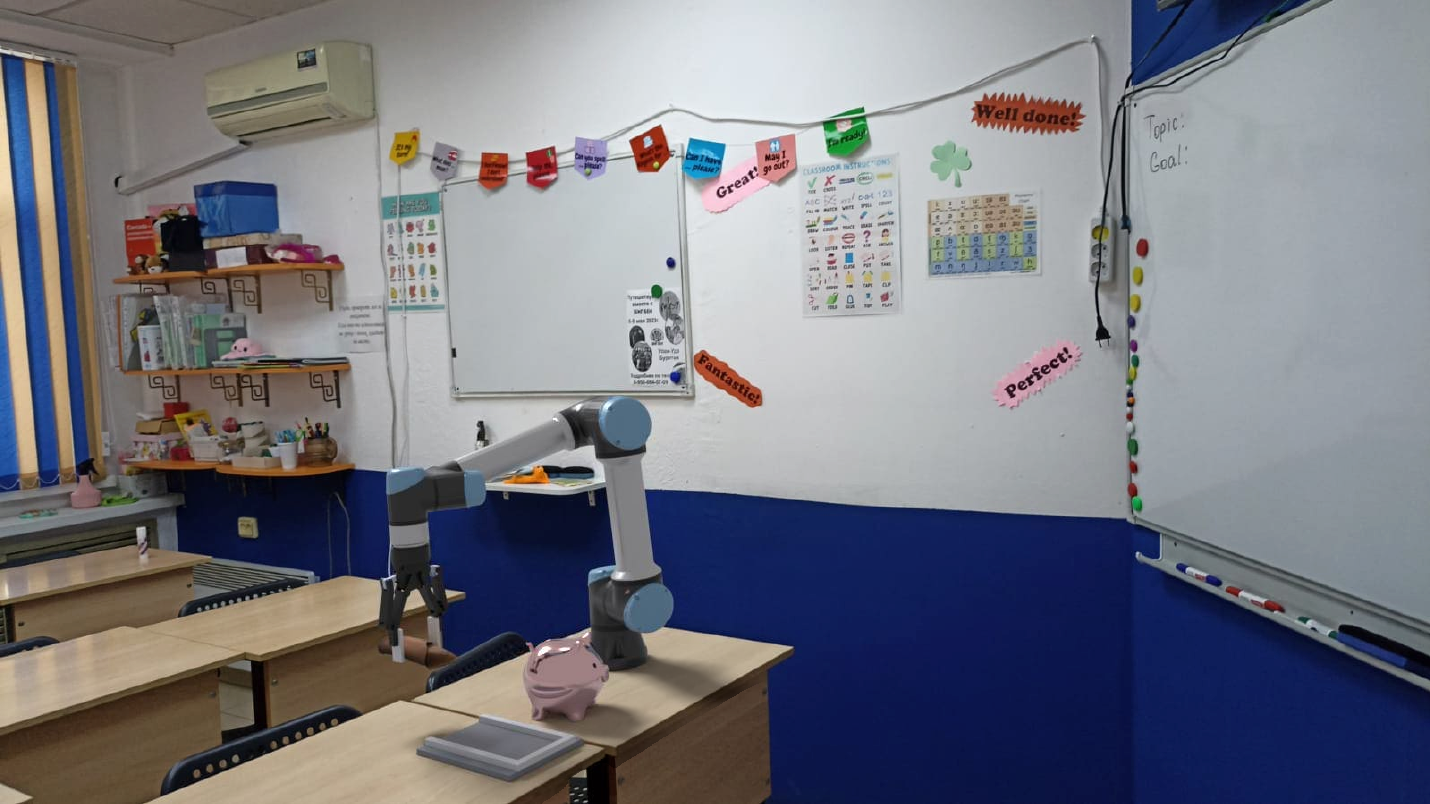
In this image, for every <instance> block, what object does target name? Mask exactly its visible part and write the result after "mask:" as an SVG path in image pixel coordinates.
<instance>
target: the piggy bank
mask: <svg viewBox="0 0 1430 804" xmlns="http://www.w3.org/2000/svg"><path fill="white" fill-rule="evenodd" d="M525 644H526V646H528V648H529V652H530V654H529V656H528V658H527V659H526V662H525V665H524V667H523V668H524V669H523V674H522V675H523V677H522V681H523V686H524V687H523V688H524V690H525V693H526V695H527V696H528V699H529V701H530V703H531V705H532V707H531V708H532V709H531V719H532V720H534V721H541V720H544V719H546V718H547V716H548V713H549V712H550V713H559V714H560V713H561V714H564V715H566V716H567V718H568V719H569V721H571V722H580V721H583V720H584V718H585V714H586V710H587V708H592V707H594V706H596V705H597V697H598V696H599V694H600V693H601V692H602V690H603V688H604V686H605V685H604V684H605V683H608V682H609V679H610V670H609V668H608V666H607V665H606V664H604V663H603V659H602V658H601V657H600V655H599V653H598V652H597V650H596V649H595V647H594V646H593V644H592V642H591V631H588V632H586V633H585V634H583V635H581V636H577V637H573V638H554V639H548V640H546V641H544V642H541V643H539V644H538V645H537V646H536V647H534V646H533V643H532V642H529V643H528V642H527V641H526V642H525Z"/></svg>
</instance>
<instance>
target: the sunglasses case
mask: <svg viewBox="0 0 1430 804" xmlns="http://www.w3.org/2000/svg"><path fill="white" fill-rule="evenodd" d="M403 642H404V658H405V660H407V661H409V662H412V663H415V664H419V665H421V666H424V667H425V668H427V669H429V670H434V669H438V668H441V667H445V666H447V665H450V664H453V663H454V662H457V661H458V660H460V658H459V657H458V656H457V655H456V654H454V653H453V652H451V651H448V650H447V649H445V648H443V647H441V648H440V647H438V646H436V645H433V642H430V641H429V640H428V639H422V638H418V637H414V636H409V635H403ZM377 649H378V650H377V651H378V653H379V654H382V655H389V656H390V655H391V656H393V654H392V646H390V645H389V637H388V635H387V636H385V637H382V639H381V640H380V641H379V644H378V646H377Z"/></svg>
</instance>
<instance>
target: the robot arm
mask: <svg viewBox="0 0 1430 804" xmlns="http://www.w3.org/2000/svg"><path fill="white" fill-rule="evenodd" d="M652 425H653V424H652V417H651V415H650V413H649V410H648V409H647V407H646V406H645V405H644V404H643V403H642V402H640V401H639V400H637V399H635V398H632V397H631V396H624V395H596V396H592V397H589V398H586V399H584V400H582V401H580V402H578V403H575V404H573V405H571V406H568V407H566V408H564V409H563V410H560V411H558V412H556V413H555V412H554V414H553V415H552V418H551V419H550V420H547V421H545V422H542V423H540V424H538V425H536V426H533V427H530V428H527V429H526V430H523V431H521V432H518V433H516V434H513V435H510V436H508V437H506V438H504V439H501V440H499V441H496V442H493V443H491V444H488V445H486V446H484V447H482V448H479V449H476V450H475V451H472V452H469V453H468V454H464V455H461V456H460V457H458V458H454V459H453V460H450V461H448V462H445V463H443V464H441V465H438V466H437V465H433V466H428V467H425V468H424V467H423V466H420V465H419V466H401V467H394V468H392V469H390V470H388V472H387V473H386V491H385V493H386V500H387V511H388V527H389V529H388V532H389V542H390V545H392V546H391V548H390V561H391V565H392V567H393V572H392V575H390V576H389V577H386V578H385V577H381V578H380V579H379V585H380V588H381V592H380V601H379V602H380V603H379V604H380V605H379V613H378V623H377V624H378V628H379V629H381V630H386V631H387V636H388V637H389V645H390V646H392V654H393V655H392V661H393V662H397V663H405V662H406V659H405V658H404V642H403V636H404V629H402V628H400V626H401V622H402V619H403V616H404V615H403V614H404V611H405V608H406V604H407V602H408V601H407V600H408V598H409V597H410V595H411V593H412V591H413V592H414V591H415V590H417V591H418V592H419V595H420V596H421V598H422V599H423V602H424V605H425V607H426V609H427V611H428V613H429V614H430V616H427V618H426V619H427V633H428V641H430V642H433V645H436V646H438V647H440V648H442V646H441V632H442V630H443V627H442V626H443V625H442V618H444V617H445V616H446V612H448V611H449V610H450V606H449V601H448V597H447V592H446V588H445V585H444V583H445V582H444V579H443V566H442V565H435V564H431V565H430V563H429V562H430V561H431V550H430V544H429V542H428V541H429V540H430V530H429V517H428V514H429V513H433V512H439V511H446V510H447V511H448V510H456V509H465V508H467V509H469V508H471V507H476V506H481V505H482V504H483V503H484V502H485V500H486V496H487V487H486V483H488V482H489V483H490V482H491V481H494V480H496V479H498V478H501V477H503V476H506V475H507V474H510V473H513V472H515V471H517V470H519V469H522V468H524V467H526V466H529V465H531V464H533V463H536V462H538V461H540V460H542V459H545V458H548V457H550V456H552V455H554V454H557V453H559V452H561V451H564V450H565V451H568V452H573V451H575V450H577V449H579V448H583V447H584V448H585V447H589V446H590V447H591V446H593V448H594V455H595V460H596V461H598V462H599V463H600V464H601V465H602V466H603V473H604V480H605V488H606V497H607V505H608V513H609V518H610V519H609V520H610V528H611V529H610V530H611V534H612V536H611V537H612V543H613V551H614V558H615V565H608V566H602V567H597V568H594V569H591V570H590V571H589V572H588V580H587V581H588V582H587V587H588V602H589V603H588V604H589V618H590V632H591V642H592V644H593V646H594V647H595V649H596V650H597V652H598V653H599V655H600V657H601V658H602V659H603V663H604V664H606V665H607V666H608V668H609V671H616V670H617V671H619V670H625V669H631V668H634V667H639V666H641V665H643V664H645V663H646V662H647V661H648V659H649V655H648V654H649V653H648V648H647V645H646V644H645V641H644V638H643V634H653V633H655V632H657V631H659V630H661V629H662V628H663V627H664V626H665V625H667V623H668V621H669V620H670V619H671V617H672V614H673V611H674V597H673V595H672V592H671V590H669V588H668V587H667V586H665V585H664V581H663V575H662V573H663V572H662V568H661V567H660V566H659V565H658V564H656V563H655V562H654V557H653V556H654V555H653V549H652V540H651V531H650V524H649V516H648V508H647V506H648V505H647V499H646V491H645V483H644V482H645V481H644V475H643V467H642V459H644V456H645V455H646V454H647V453H648V452H647V442H648V438H649V437H650V436H651V434H652V433H651V432H652ZM428 577H429V579H428ZM429 580H430V581H429ZM395 583H396V584H395Z"/></svg>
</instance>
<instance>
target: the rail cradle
mask: <svg viewBox="0 0 1430 804" xmlns="http://www.w3.org/2000/svg"><path fill="white" fill-rule="evenodd" d="M583 744H584V738H582V737H579V736H576V735H574V734H570V733H567V732H566V733H565V732H563V731H558V730H554V729H549V728H545V727H541V726H537V725H534V724H529V723H524V722H521V721H518V720H517V721H516V720H513V719H508V718H505V717H499V716H496V715H492V714H489V713H482V714H480V715H478V722H475V723H473V724H470V725H468V726H466V727H464V728H461V729H458V730H456V731H454V732H451V733H450V734H446V735H445V736H443V737H440V738H437V737H435V736H428V737H426V738H424V745H422V746H420V747H418V748H416V755H418V756H422V757H425V758H428V759H432V760H435V761H439V762H442V763H446V764H449V765H453V766H456V767H459V768H462V769H466V770H470V771H473V772H476V773H479V774H483V775H487V776H490V777H493V778H497V779H499V780H503V781H507V782H513V780H516V779H518V778H519V777H522V776H523V775H525V774H527V773H529V772H531V771H533V770H535V769H537V768H539V767H541V766H543V765H545V764H546V763H549V762H551V761H552V760H554V759H556V758H559V757H560V756H562V755H564V754H566V753H568V752H569V751H571V750H573V749H576V748H577V747H579V746H581V745H583Z"/></svg>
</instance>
